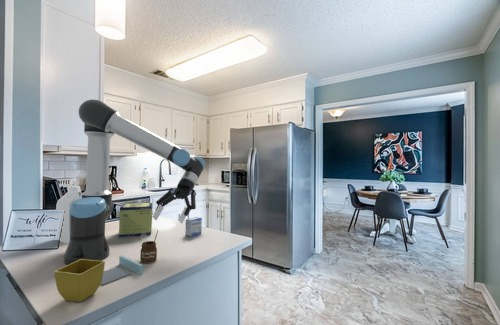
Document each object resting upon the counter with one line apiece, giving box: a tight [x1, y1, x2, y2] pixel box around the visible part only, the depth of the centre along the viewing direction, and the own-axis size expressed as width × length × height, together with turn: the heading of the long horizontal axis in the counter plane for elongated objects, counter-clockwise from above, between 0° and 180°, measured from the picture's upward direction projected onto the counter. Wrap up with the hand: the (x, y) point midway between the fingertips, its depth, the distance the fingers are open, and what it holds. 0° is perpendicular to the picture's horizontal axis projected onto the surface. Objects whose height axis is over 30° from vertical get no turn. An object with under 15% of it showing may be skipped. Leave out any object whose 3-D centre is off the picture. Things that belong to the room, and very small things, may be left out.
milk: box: [55, 185, 83, 245], centre depth 117 cm, size 12×12×26 cm
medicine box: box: [184, 216, 203, 237], centre depth 128 cm, size 8×4×9 cm, turn 146°
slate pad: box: [99, 266, 131, 287], centre depth 80 cm, size 9×9×1 cm
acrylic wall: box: [118, 255, 144, 275], centre depth 86 cm, size 14×1×3 cm, turn 56°
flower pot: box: [53, 259, 106, 303], centre depth 68 cm, size 9×9×9 cm
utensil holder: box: [139, 229, 159, 264], centre depth 93 cm, size 6×6×12 cm
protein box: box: [118, 202, 153, 238], centre depth 127 cm, size 10×16×16 cm
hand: (167, 220), depth 103 cm, fingers open, 13 cm apart
